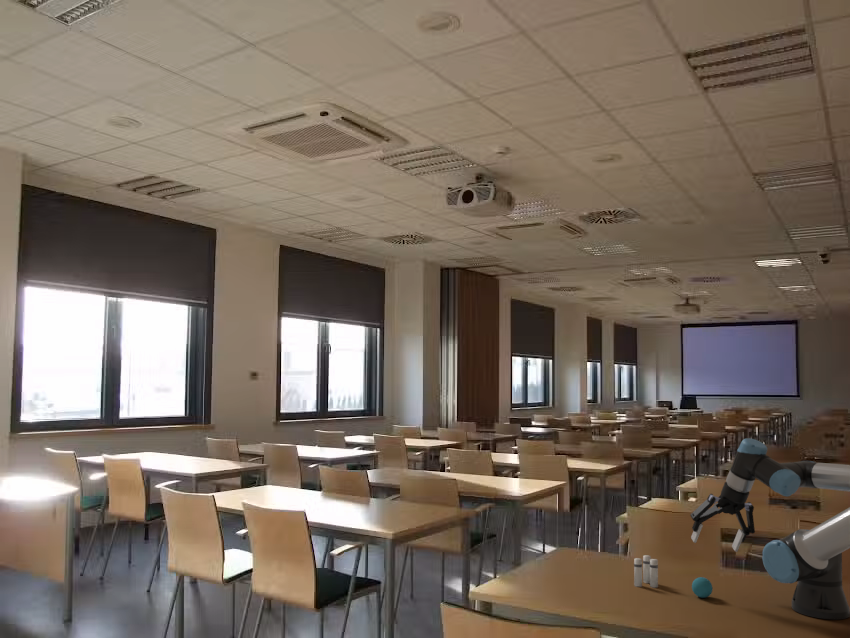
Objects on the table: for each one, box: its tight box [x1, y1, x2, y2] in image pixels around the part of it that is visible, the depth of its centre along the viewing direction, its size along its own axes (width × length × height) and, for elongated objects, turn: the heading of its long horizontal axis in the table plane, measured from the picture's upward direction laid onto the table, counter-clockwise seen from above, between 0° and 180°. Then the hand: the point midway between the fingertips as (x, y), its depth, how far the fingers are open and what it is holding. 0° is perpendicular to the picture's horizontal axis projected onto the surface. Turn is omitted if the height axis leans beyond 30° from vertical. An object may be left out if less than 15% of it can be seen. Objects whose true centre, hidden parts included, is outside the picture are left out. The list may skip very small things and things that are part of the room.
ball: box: [691, 576, 713, 599], centre depth 235 cm, size 6×6×6 cm
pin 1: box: [633, 557, 643, 588], centre depth 246 cm, size 2×2×8 cm
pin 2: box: [642, 554, 652, 584], centre depth 251 cm, size 2×2×8 cm
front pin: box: [649, 558, 659, 589], centre depth 246 cm, size 2×2×8 cm
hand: (713, 544), depth 239 cm, fingers open, 13 cm apart
